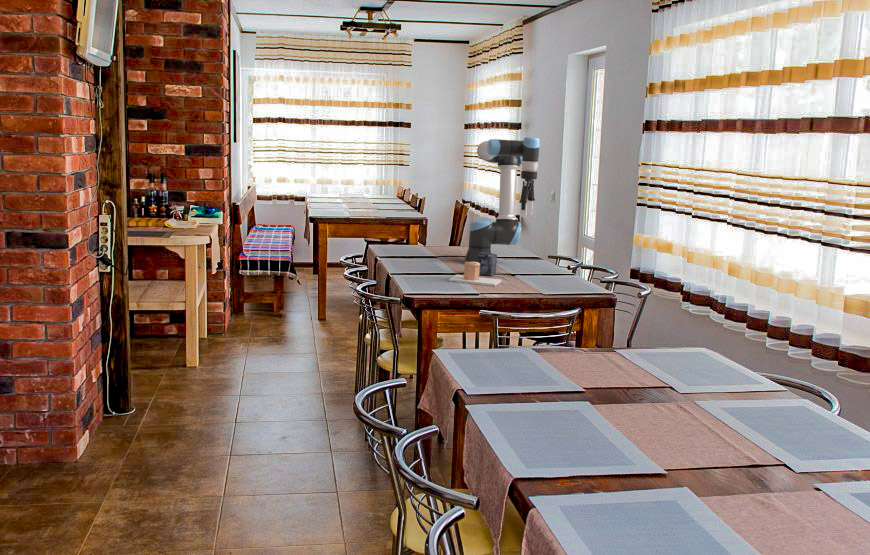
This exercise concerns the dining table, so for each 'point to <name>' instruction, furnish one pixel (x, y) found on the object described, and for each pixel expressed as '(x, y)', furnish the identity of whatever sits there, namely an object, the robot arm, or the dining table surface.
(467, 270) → the peach block
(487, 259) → the box
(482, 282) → the white board with peg
